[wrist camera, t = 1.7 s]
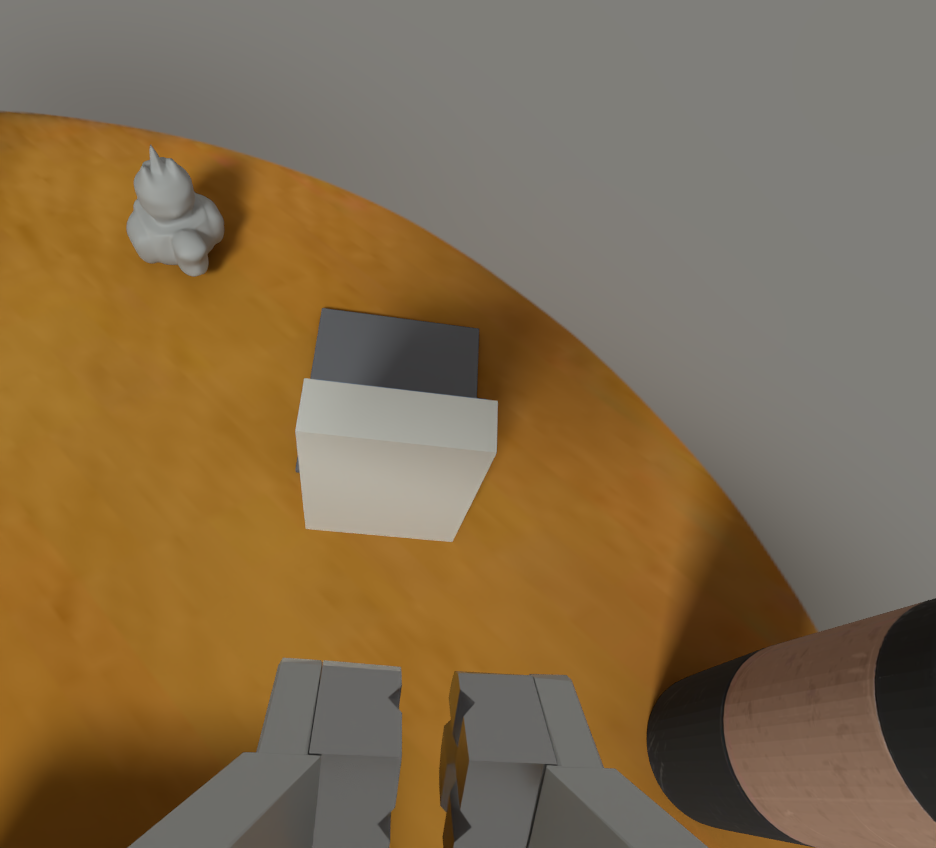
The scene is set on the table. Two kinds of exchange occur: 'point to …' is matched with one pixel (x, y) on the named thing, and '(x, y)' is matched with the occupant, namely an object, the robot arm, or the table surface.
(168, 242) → the grey animal figurine
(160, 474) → the table surface
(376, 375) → the mat
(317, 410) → the white flat box
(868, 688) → the travel mug
